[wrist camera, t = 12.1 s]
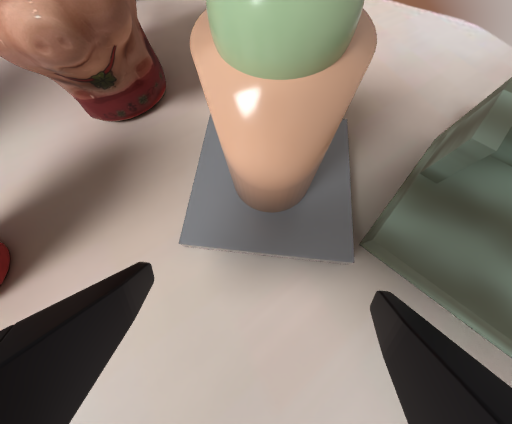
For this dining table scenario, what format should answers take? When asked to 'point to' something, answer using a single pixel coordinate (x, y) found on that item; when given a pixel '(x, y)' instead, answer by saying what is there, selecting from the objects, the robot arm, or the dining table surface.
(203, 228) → the slate pad
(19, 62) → the decorative planter
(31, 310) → the dining table surface
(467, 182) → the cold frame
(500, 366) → the dining table surface
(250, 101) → the green ice cream cone
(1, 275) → the smoothie
